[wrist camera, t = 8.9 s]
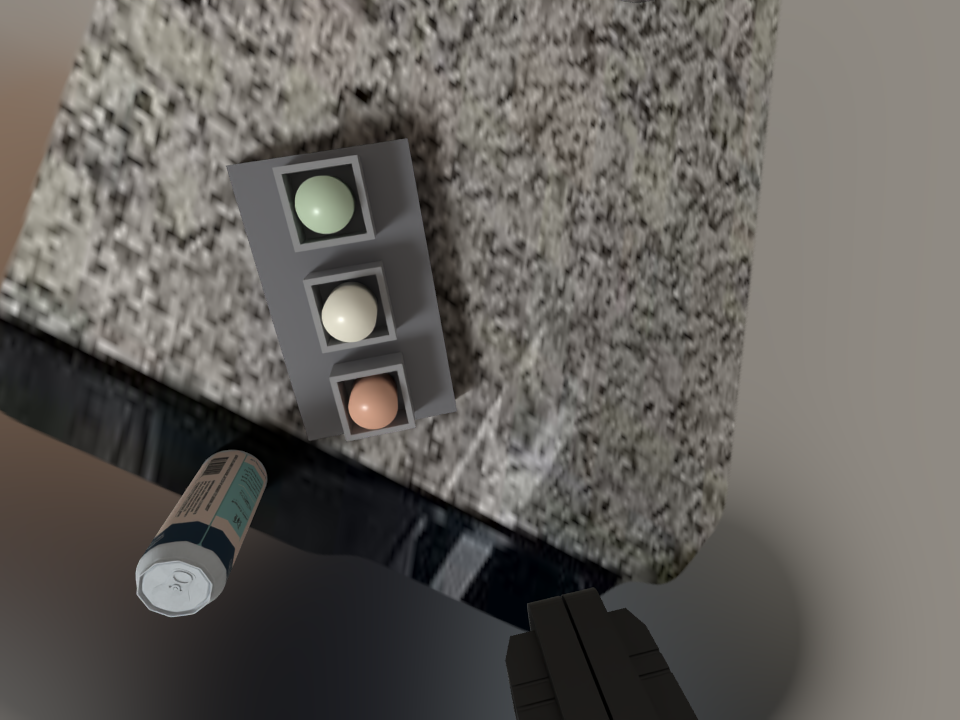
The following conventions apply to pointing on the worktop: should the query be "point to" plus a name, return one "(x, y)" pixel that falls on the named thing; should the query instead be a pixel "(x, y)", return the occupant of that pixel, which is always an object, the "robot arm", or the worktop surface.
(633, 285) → the worktop surface
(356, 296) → the cream button
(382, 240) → the grey boxy piece
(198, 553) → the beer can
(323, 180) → the sage button
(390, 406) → the terracotta button
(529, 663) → the robot arm
